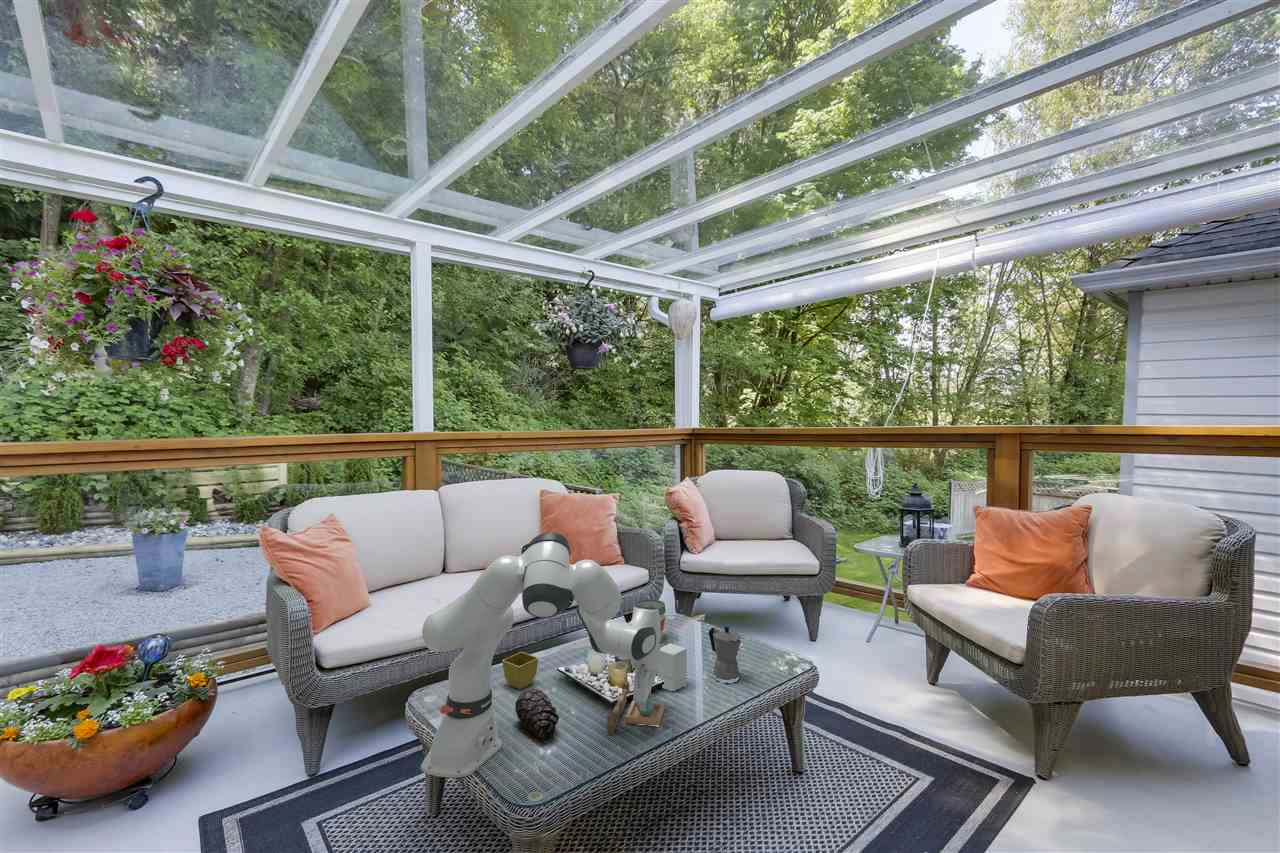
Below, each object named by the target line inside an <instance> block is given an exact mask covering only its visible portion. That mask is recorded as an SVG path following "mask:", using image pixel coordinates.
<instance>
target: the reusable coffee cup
mask: <svg viewBox="0 0 1280 853" xmlns="http://www.w3.org/2000/svg"><path fill="white" fill-rule="evenodd" d="M640 604H643V605H651V606H654V607H656V608H657V609H658V611H659V615H660V626H661V635H660V639H659V642H660V643H661V642H662V636H663V631H664V629H665V628H664V627H665V622H666V621H665V620H666V617H665V613H666V612H667V609H666V603H665V602H664V601H662V600H659V599H651V598H649V599H641V600H637V601H635V604H634V606H636V605H640Z"/></svg>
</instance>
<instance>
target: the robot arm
mask: <svg viewBox="0 0 1280 853" xmlns="http://www.w3.org/2000/svg"><path fill="white" fill-rule="evenodd" d="M570 556H571V546H570V542H569V541H568V539H567V538H566V537H565V536H564V535H563V534H561V533H557V532H554V531H547V532H543V533H540V534H538V535H536V536H535V537H533V539H530V541H529V543H526V544H524V545H523V546H522V547H521V555H519V556H515V555H509V554H507V555H502V556H500V557H498V558H496V559H495V560H494V561H493V562H491V563H490V564H488V566H486V568H485V569H484V570H483V571H482V573H481V574H480V575H479V576H478V578H477V579H476V580H475V582H474V583H473V584H472V586H470V588H469V589H468V590H467V591H466V592H464V593H462V595H460V596H459V597H458V598H455V600H454V601H451V602H450V603H449V604H448V605H446V606H445V607H443V608H441V609H440V610H438V611H436V612H434V613H431V614H429V615H428V616H427V617H426V619H425V620H424V622H423V625H422V630H421V637H422V641H423V643H424V644H425V646H426V647H427V648H428V649H429V650H430V651H431V652H433V653H436V652H437V653H439V652H449V651H451V652H452V651H455V650H458V649H461V648H463V650H462V651H461V653H460V654H458V656H456V657H455V659H453V661H452V662H451V664H450V666H449V669H448V694H447V697H446V701H445V704H442V705H441V707H440V710H439V711H440V714H444V715H443V716H442V719H441V721H440V723H439V725H438V727H437V730H436V731H435V735H434V736H433V737H432V738H433V739H432V741H431V744H430V745H431V746H430V747H431V748H430V750H429V751H428V753H427V754H426V756H425V758H424V759H423V761H422V763H421V765H420V770H421V772H423V773H425V774H427V775H430V776H434V777H440V778H464V777H468V776H471V775H472V774H473V773H474V772H476V771H477V770H478V769H479V767H481V766H482V765H484V763H486V762H487V761H488V760H489V759H490V758H491V757H493V755H495V754H496V753H497V752H498V751H500V749H501V748H503V742H502V741H501V740H500V739H499V736H498V722H497V715H496V714H495V712H494V709H493V707H492V704H493V690H492V689H491V674H492V663H493V661H494V660H493V659H494V656H495V652H496V650H497V648H498V647H499V644H500V643H501V641H502V639H503V638H504V636H505V635H507V633H508V632H509V631H510V630H511V628H512V626H513V625H514V624H513V623H514V619H515V615H514V609H513V606H512V605H513V603H514V602H515V601H516V600H517V599H518V597H519V596H520V594H521V600H522V607H523V610H524V611H526V613H528V615H531V616H532V617H535V618H538V619H539V618H540V619H548V618H553V617H555V616H557V615H558V614H560V613H562V612H564V611H565V610H567V609H568V608H570V607H571V606H572V605H573V604H574V602H575V603H576V612H577V615H578V617H579V619H580V621H581V623H582V625H583V626H584V629H585V630H586V633H587V635H588V639H589V643H590V646H591V648H592V650H594V652H595V653H597V654H603V655H611V656H614V657H618V658H623V659H628V660H630V665H631V666H632V667H633V668H635V671H636V673H635V675H634V680H633V693H632V694H633V698H632V699H633V700H634V702H635V703H639V704H640V711H645V710H646V700H647V698H650V699H651V696H652V688H653V684H654V682H655V679H656V677H657V667H659V666H660V648H661V644H660V643H659V639H660V635H661V626H660V615H659V611H658V609H657V608H656V607H654V606H651V605H643V604H640V605H636V606H635V605H634V607H633V610H632V617H631V620H630V621H629V622H624V621H621V620H617V619H613V618H614V617H615V616H616V614H617V613H619V609H620V608H621V605H622V593H621V591H620V588H619V586H618V585H617V583H616V582H615V580H614V579H613V578H612V576H611V575H610V573H608V571H607V570H605V569H604V568H603V567H602V566H601V564H599V563H598V562H596V561H595V560H593V559H581V560H578V561H577V562H575V563H574V564H571V563H570V562H571V561H570Z"/></svg>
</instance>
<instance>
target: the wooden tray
mask: <svg viewBox="0 0 1280 853" xmlns="http://www.w3.org/2000/svg"><path fill="white" fill-rule="evenodd" d="M637 704H638V703H635V702H634V699H633V700H632V701H631V702H630V706H629V708H628V710H627V712H626V715H625V724H626V725H632V724H645V725H659V724H660V725H661V723H660V721H662V720H661V718H662V719H663V716H664V713H663V712H665V703H663V702H654V701H653V704H654V709H653V711H652V713H651V714H649V715H646V716H645V715H642V714H640V713H639V711H638V708H637ZM662 715H663V716H662Z"/></svg>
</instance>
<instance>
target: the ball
mask: <svg viewBox="0 0 1280 853" xmlns="http://www.w3.org/2000/svg"><path fill="white" fill-rule="evenodd" d="M653 702H654V701H653V700H652V699H651V697H650V698H647V700H646V710H645V711H640V704H639V703H638V704H637V708H638V711H639V713H640V714H642V715H645V716H646V715H649V714H651V713H652V711H653V709H654V704H653Z"/></svg>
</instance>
